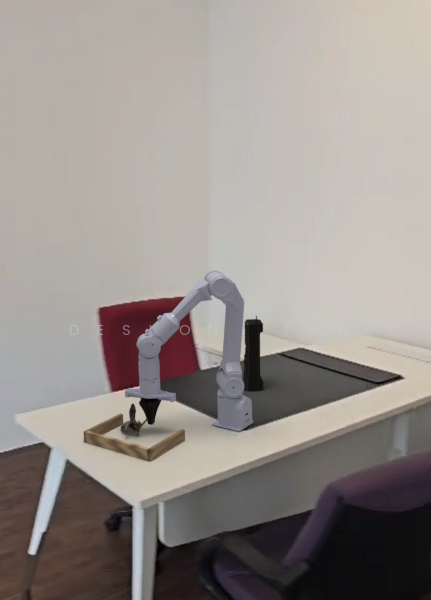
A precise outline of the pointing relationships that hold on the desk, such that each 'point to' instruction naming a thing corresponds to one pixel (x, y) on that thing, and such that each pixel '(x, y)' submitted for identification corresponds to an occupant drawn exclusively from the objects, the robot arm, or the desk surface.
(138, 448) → the box
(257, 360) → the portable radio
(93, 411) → the desk surface
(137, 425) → the eagle figurine
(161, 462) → the desk surface
